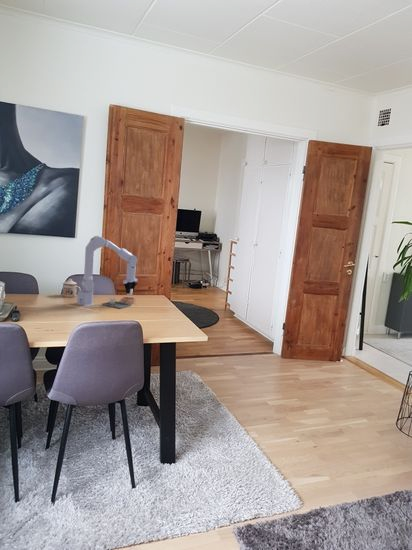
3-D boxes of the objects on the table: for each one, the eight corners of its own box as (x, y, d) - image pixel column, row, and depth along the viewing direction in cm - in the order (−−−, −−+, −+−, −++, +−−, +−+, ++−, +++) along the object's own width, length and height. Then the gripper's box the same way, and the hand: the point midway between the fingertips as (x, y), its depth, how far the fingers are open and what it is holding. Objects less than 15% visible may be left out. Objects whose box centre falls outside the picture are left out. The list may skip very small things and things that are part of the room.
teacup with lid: (60, 296, 283) (61, 279, 281) (65, 294, 292) (66, 277, 290) (77, 298, 282) (78, 281, 281) (82, 296, 291) (83, 279, 290)
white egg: (130, 295, 278) (130, 289, 278) (125, 294, 280) (126, 288, 279) (133, 294, 282) (133, 288, 281) (128, 293, 283) (129, 288, 282)
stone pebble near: (112, 305, 270) (113, 299, 270) (108, 304, 272) (108, 298, 271) (116, 304, 274) (116, 298, 273) (111, 303, 275) (111, 297, 274)
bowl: (130, 305, 277) (130, 300, 276) (117, 303, 280) (117, 298, 280) (138, 303, 286) (138, 298, 286) (125, 300, 290) (126, 296, 289)
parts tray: (120, 309, 263) (120, 307, 263) (102, 305, 268) (102, 303, 268) (131, 306, 274) (131, 304, 274) (113, 302, 279) (113, 300, 279)
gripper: (130, 274, 271) (128, 295, 272) (142, 272, 284) (140, 292, 286) (120, 273, 273) (119, 293, 275) (133, 271, 287) (131, 291, 288)
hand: (129, 293), depth 281 cm, fingers closed on white egg, 4 cm apart
